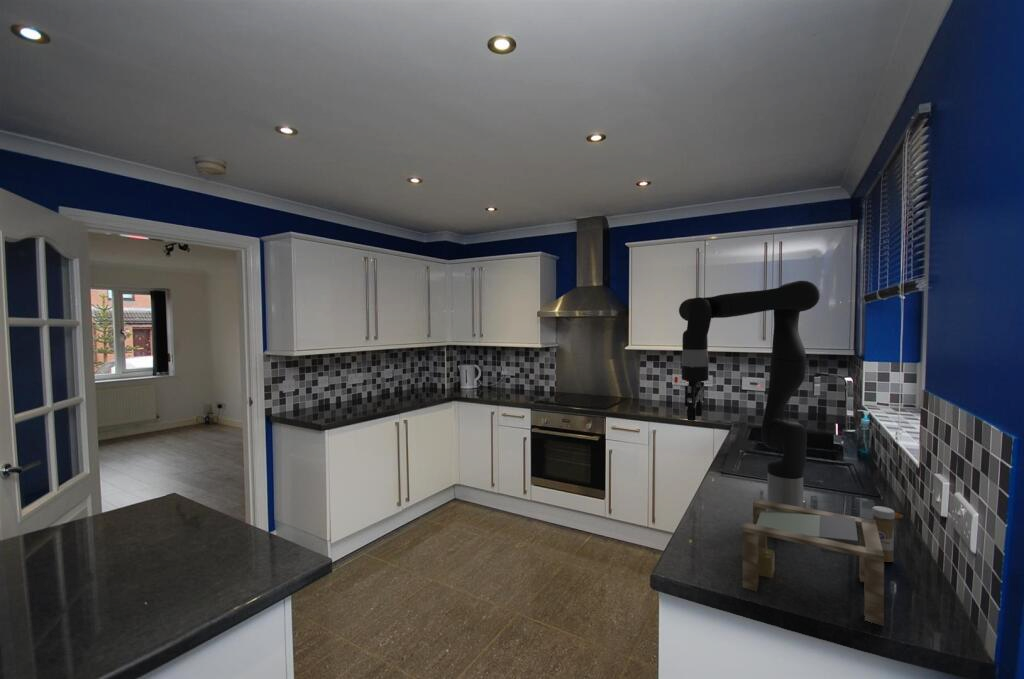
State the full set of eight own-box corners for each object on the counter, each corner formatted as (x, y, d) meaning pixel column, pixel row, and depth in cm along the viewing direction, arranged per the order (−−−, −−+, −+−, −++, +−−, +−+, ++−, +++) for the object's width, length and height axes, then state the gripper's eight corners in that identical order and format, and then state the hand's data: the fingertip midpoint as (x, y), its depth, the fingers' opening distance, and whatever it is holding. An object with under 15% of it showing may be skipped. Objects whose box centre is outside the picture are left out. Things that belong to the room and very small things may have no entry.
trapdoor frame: (874, 579, 112) (875, 520, 111) (883, 626, 94) (884, 556, 94) (754, 551, 126) (754, 498, 126) (742, 587, 109) (742, 526, 109)
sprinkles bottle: (871, 560, 121) (871, 509, 121) (872, 553, 125) (872, 504, 124) (894, 565, 118) (894, 513, 118) (894, 558, 122) (894, 508, 121)
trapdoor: (856, 532, 111) (854, 518, 111) (860, 556, 99) (857, 540, 99) (763, 523, 122) (761, 510, 122) (756, 544, 110) (754, 530, 110)
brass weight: (774, 570, 117) (752, 564, 120) (774, 550, 117) (752, 545, 120) (771, 578, 113) (749, 572, 116) (771, 558, 113) (749, 552, 116)
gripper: (687, 362, 147) (687, 413, 147) (675, 365, 135) (675, 421, 135) (713, 363, 142) (712, 415, 143) (702, 366, 131) (702, 423, 131)
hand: (694, 418), depth 139 cm, fingers open, 8 cm apart
